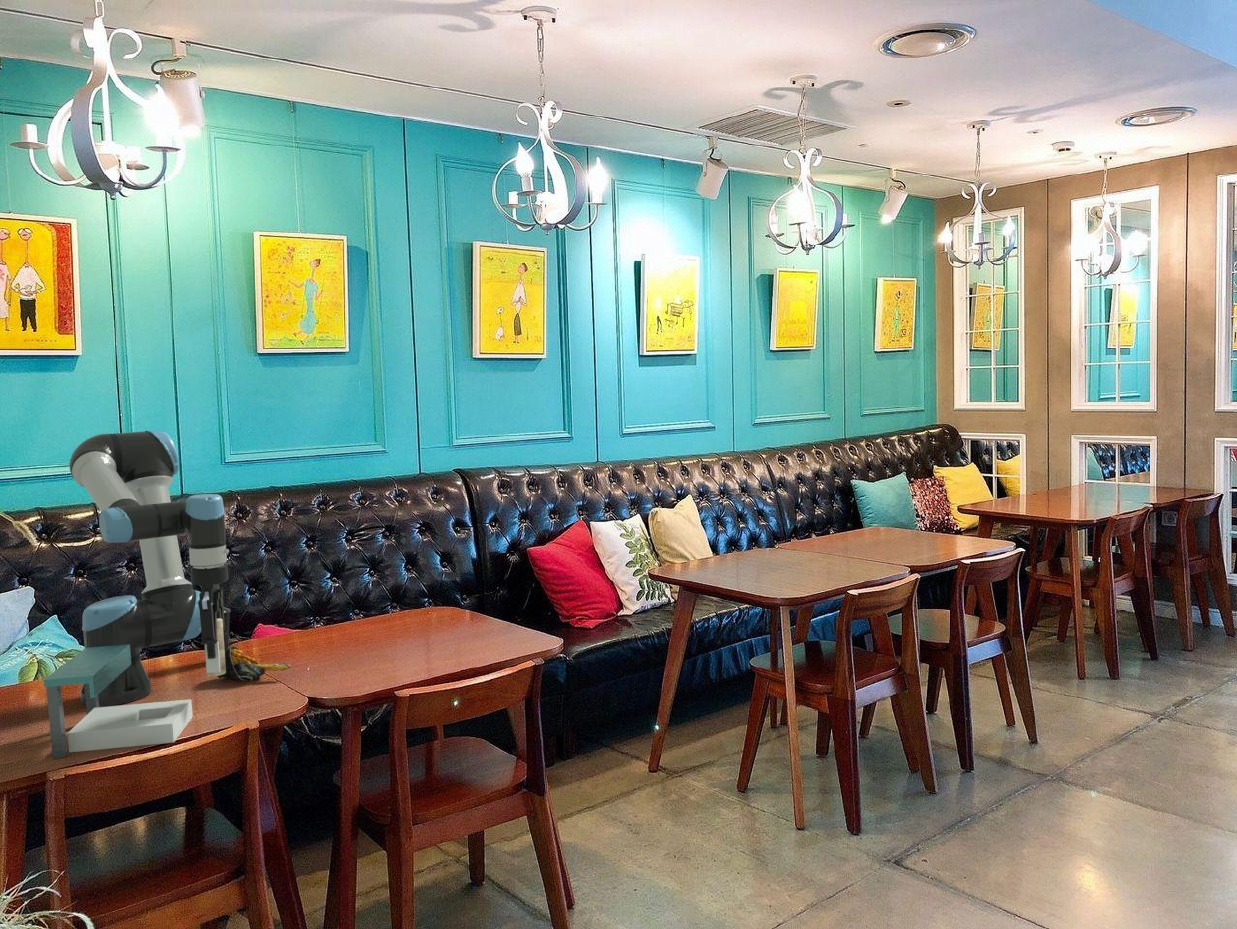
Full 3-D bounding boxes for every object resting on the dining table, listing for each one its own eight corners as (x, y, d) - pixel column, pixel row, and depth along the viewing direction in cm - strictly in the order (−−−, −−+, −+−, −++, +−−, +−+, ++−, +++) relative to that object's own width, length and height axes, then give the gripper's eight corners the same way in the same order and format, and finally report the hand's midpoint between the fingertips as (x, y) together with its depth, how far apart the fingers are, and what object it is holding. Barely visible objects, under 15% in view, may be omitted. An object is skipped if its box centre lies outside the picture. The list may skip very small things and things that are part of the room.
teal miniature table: (92, 720, 219) (86, 647, 217) (135, 716, 220) (129, 644, 219) (50, 760, 195) (43, 679, 194) (99, 756, 197) (92, 675, 196)
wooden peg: (208, 671, 220) (205, 619, 219) (227, 670, 221) (224, 617, 220) (204, 677, 216) (201, 623, 215) (223, 675, 217) (220, 622, 216)
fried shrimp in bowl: (219, 655, 252) (287, 629, 253) (230, 697, 248) (298, 670, 250) (204, 652, 243) (273, 624, 244) (215, 694, 240) (285, 666, 241)
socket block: (95, 725, 215) (94, 707, 215) (192, 716, 219) (191, 699, 219) (69, 752, 200) (67, 733, 199) (173, 742, 203) (172, 723, 203)
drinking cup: (197, 665, 260) (191, 590, 258) (213, 657, 268) (208, 584, 266) (223, 665, 259) (218, 590, 257) (239, 657, 266) (234, 584, 265)
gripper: (218, 572, 208) (225, 679, 211) (234, 556, 225) (241, 656, 227) (181, 574, 207) (188, 682, 209) (200, 558, 224) (206, 658, 226)
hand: (215, 668), depth 218 cm, fingers closed on wooden peg, 4 cm apart
